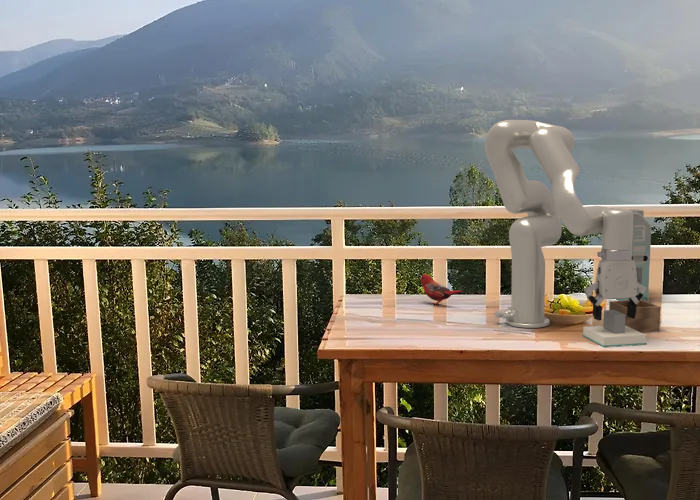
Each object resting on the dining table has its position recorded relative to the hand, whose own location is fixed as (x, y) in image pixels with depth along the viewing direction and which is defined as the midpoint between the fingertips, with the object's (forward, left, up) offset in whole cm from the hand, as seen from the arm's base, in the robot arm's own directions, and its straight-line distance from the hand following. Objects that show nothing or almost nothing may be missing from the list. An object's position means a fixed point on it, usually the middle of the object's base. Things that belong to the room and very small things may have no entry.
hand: (614, 318), depth 210 cm
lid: (0, 0, -6) cm, 6 cm away
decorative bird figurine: (-33, +52, -6) cm, 62 cm away
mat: (0, 0, -6) cm, 6 cm away
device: (+30, +48, -6) cm, 57 cm away
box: (+12, +11, -6) cm, 17 cm away
